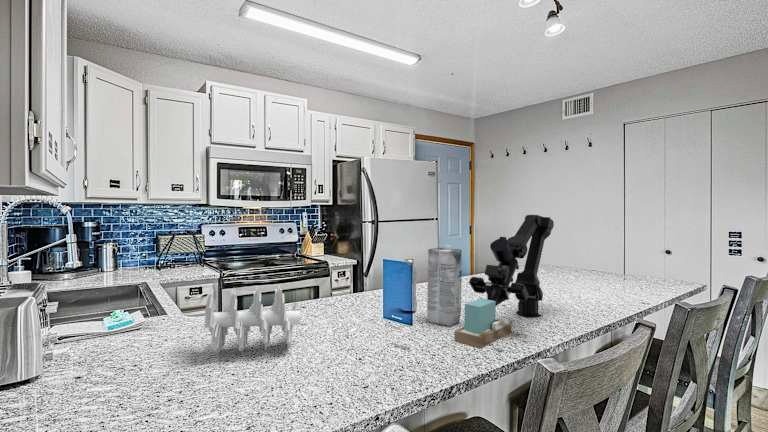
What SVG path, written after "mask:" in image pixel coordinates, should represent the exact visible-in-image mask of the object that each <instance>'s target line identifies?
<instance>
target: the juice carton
mask: <svg viewBox="0 0 768 432" xmlns="http://www.w3.org/2000/svg"><path fill="white" fill-rule="evenodd" d="M427 251H428V254H427V255H428V259H427V304H426V306H427V319H428V322H429V323H432V324H439V325H442V326H446V327H451V326H454V325H455V324H457V323H459V322H460V320H461V315H462V312H461V311H462V273H463V271H462V270H463V269H462V267H463V265H462V264H463V263H462V262H463V260H462V259H463V258H462V253H463V252H462V249H460V248H452V244H443V247H434V248H429V249H427Z"/></svg>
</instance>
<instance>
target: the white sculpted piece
mask: <svg viewBox="0 0 768 432" xmlns="http://www.w3.org/2000/svg"><path fill="white" fill-rule="evenodd" d="M258 287H259V285H255V290H253V301H252V303H251V305H250V306H249V307H248V308H249V309H248V310H247V311H238V298H237V291H236V288H235V287H233V288H232V289H231V293H230V301H229V305H228V307H226V311H219V312H218V311H214V298H213V294H214V293H213V289H212V288H211V287H210V288H209V289H208V290H209V291H208V294H207V295H208V296H207V300H206V304H205V310H204V312H205V314H204V328H205V329H207V328H208V329H209V331H208V332H209V333H210V336H211V338H210V342H211V343H210V344H213V351H216V356H219V355H220V352H222V351H223V347H225V344H226V338H227V337H226V336H227V335H229V334H228V333H229V328H233V332H235V335H236V345H238V351H240V354H243V353H244V350H245V349H246V344H248V337H249V335H248V334H249V333H250V331H251V327H258V328H259V330H258V331H259V332H260V335H261V336H262V337H263V339H262V341H263V342H262V343H263V344H264V351H267V348H268V347H269V344H270V341H271V334H272V331H273V326H274V327H276V326H280V327H281V331H282V332H283V334H284V337H285V338H286V340H285V341H286V349H287V350H288V349H290V346H291V342H292V333H293V332H292V331H293V327H294V326H299V325H300V321H301V311H300V310H297V309H298V302H297V301H294V302H293V303H292V307H291V309H290V310H287V305H285V301H286V300H285V293H283V289H282V287H281V285H280V284H278V285H277V288H275V289H274V300H273V303H272V305H270V306H271V307H270V310H264V304H263V303H262V292H260V288H258Z"/></svg>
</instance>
